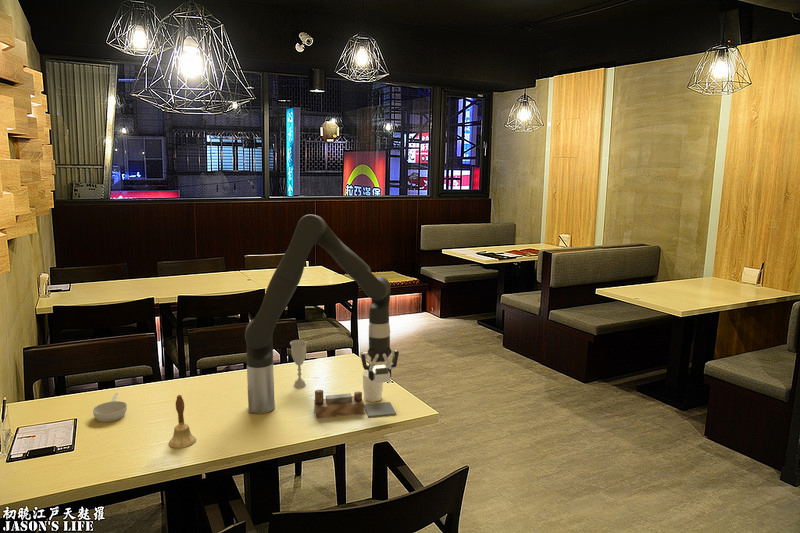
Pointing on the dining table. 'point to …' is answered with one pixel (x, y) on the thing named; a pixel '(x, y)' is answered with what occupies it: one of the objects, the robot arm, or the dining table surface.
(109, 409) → the pan
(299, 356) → the chalice
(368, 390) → the white cup
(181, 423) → the hand bell
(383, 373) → the lever cap
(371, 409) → the slate mat
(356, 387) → the dining table surface
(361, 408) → the plane body
